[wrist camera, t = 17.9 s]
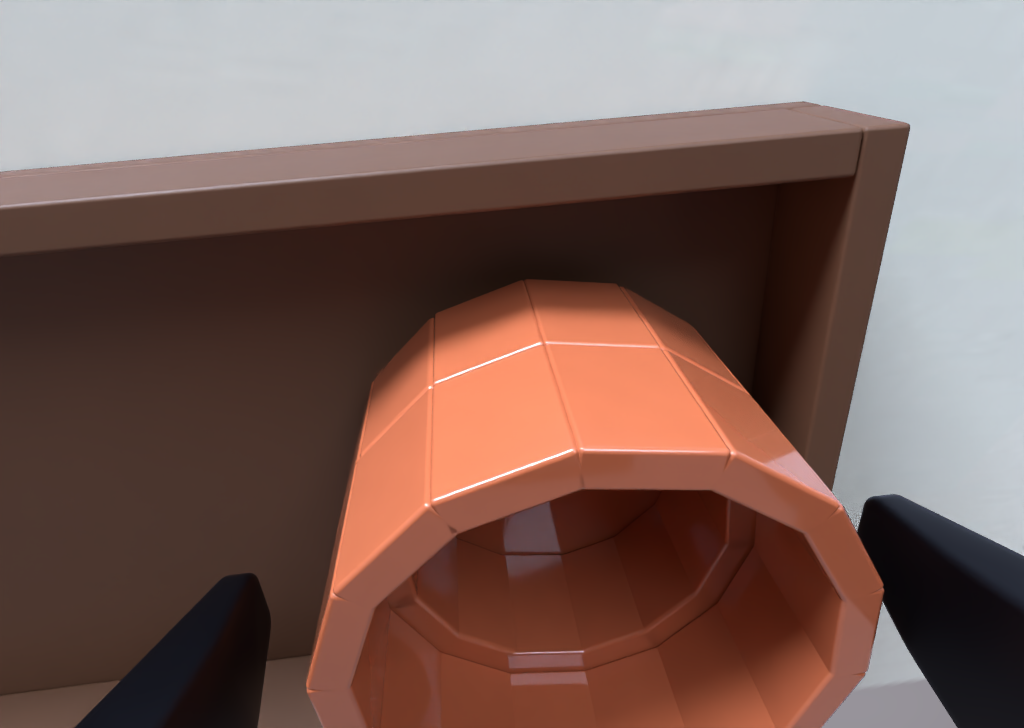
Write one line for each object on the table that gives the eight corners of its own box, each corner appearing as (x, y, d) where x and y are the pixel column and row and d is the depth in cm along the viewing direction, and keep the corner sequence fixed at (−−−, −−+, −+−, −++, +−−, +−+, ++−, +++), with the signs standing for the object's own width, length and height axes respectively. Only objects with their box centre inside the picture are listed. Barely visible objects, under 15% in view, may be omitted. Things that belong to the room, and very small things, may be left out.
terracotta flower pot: (749, 503, 13) (904, 744, 9) (446, 608, 14) (448, 885, 9) (675, 205, 10) (858, 346, 6) (287, 357, 11) (179, 593, 6)
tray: (806, 100, 10) (913, 122, 8) (737, 594, 15) (789, 695, 13) (-886, 248, 9) (-1356, 328, 6) (-330, 732, 14) (-480, 869, 12)
